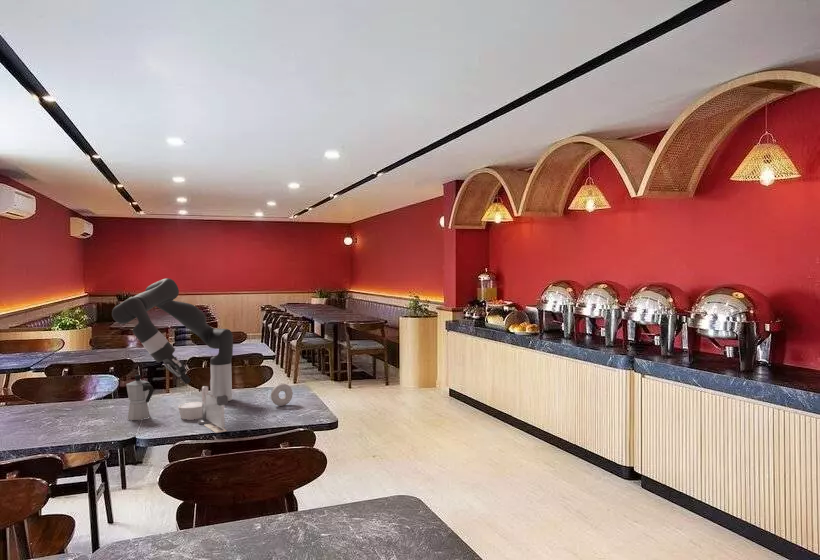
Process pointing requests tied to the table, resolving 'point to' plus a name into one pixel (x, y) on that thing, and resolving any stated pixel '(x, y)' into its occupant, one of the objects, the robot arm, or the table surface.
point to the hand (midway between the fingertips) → (188, 382)
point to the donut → (277, 390)
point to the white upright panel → (213, 407)
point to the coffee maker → (139, 398)
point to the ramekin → (191, 410)
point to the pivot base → (204, 422)
